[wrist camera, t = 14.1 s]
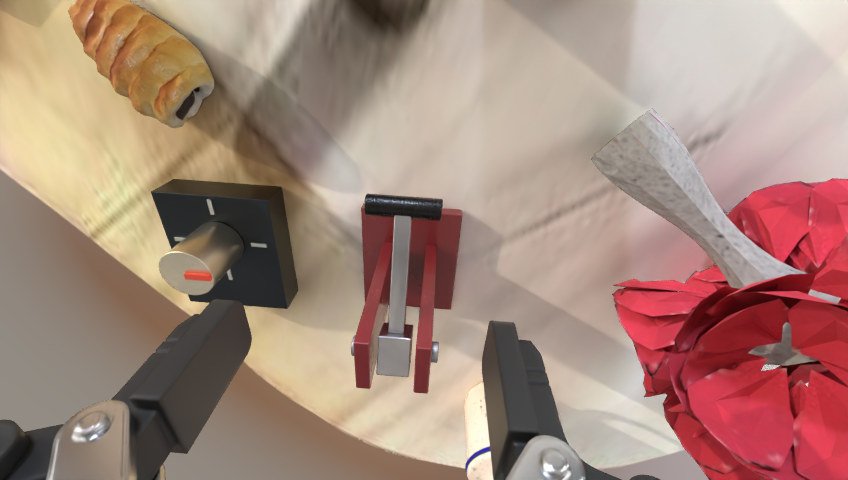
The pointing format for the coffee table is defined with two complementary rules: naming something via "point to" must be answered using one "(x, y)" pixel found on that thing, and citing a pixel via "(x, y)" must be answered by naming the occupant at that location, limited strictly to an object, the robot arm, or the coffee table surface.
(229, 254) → the dial
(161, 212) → the dial panel
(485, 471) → the teacup with lid
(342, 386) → the coffee table surface
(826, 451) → the bouquet
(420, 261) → the bracket
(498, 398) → the robot arm
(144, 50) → the pastry
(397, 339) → the lever
